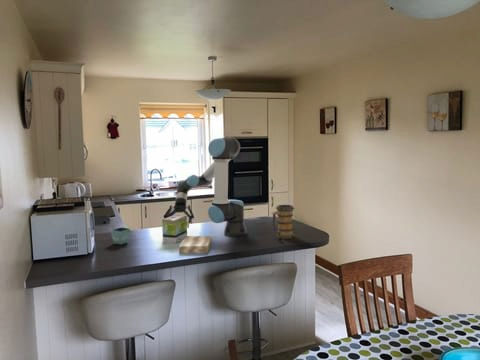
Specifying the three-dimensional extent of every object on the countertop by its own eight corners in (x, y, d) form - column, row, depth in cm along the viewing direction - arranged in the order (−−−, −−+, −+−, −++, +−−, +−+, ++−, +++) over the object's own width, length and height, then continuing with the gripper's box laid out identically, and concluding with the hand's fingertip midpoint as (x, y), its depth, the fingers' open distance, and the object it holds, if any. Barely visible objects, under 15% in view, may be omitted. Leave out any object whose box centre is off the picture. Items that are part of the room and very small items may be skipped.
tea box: (176, 243, 230) (175, 220, 229) (162, 242, 234) (161, 219, 232) (187, 237, 244) (186, 215, 243) (174, 236, 248) (173, 214, 246)
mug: (299, 237, 239) (299, 206, 237) (278, 241, 230) (278, 209, 228) (286, 232, 250) (286, 203, 248) (266, 237, 241) (265, 206, 238)
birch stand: (211, 242, 232) (211, 235, 231) (207, 253, 210) (207, 246, 209) (186, 242, 232) (185, 236, 232) (179, 253, 210) (179, 246, 210)
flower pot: (131, 242, 235) (130, 228, 234) (120, 246, 228) (119, 231, 227) (122, 240, 240) (121, 227, 239) (111, 244, 232) (110, 230, 231)
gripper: (199, 203, 258) (197, 229, 245) (164, 203, 259) (159, 230, 246) (198, 197, 252) (195, 223, 239) (162, 197, 253) (157, 224, 240)
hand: (177, 227), depth 242 cm, fingers open, 13 cm apart
